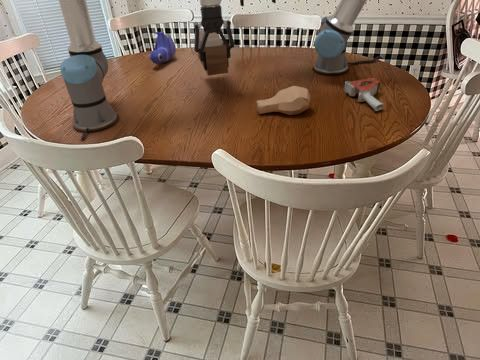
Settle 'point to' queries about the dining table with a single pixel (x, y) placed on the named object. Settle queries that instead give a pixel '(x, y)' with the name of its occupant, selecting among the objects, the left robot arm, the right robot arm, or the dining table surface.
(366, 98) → the tape dispenser
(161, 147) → the dining table surface
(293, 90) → the squash
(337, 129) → the dining table surface
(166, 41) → the toy
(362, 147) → the dining table surface
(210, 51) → the box
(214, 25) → the left robot arm
